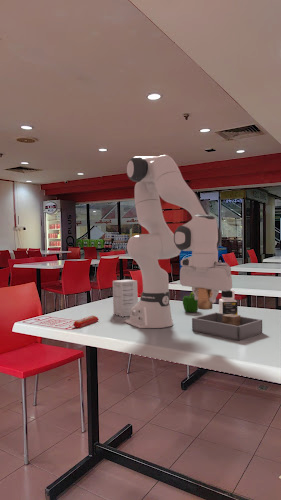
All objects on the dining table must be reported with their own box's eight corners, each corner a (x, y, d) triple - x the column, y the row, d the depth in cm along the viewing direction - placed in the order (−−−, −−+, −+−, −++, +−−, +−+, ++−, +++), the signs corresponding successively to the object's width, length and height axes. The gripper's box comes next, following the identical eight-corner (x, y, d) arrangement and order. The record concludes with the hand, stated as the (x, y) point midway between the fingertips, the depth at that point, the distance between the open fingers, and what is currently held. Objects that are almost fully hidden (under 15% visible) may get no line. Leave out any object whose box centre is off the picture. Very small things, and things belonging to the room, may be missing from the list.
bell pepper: (182, 310, 191) (182, 290, 191) (198, 310, 190) (198, 290, 190) (183, 313, 183) (182, 293, 182) (199, 313, 182) (199, 293, 182)
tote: (192, 330, 148) (192, 318, 147) (216, 324, 158) (216, 312, 158) (239, 340, 131) (238, 326, 131) (262, 332, 142) (262, 319, 142)
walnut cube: (222, 328, 147) (222, 315, 147) (230, 325, 151) (229, 313, 151) (233, 330, 144) (233, 317, 144) (240, 327, 147) (240, 315, 147)
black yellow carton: (222, 316, 173) (222, 291, 173) (218, 313, 180) (218, 289, 180) (237, 316, 174) (237, 290, 173) (233, 313, 181) (233, 288, 180)
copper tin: (194, 308, 128) (194, 288, 128) (203, 306, 131) (203, 286, 131) (206, 310, 124) (206, 289, 124) (215, 308, 128) (215, 287, 127)
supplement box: (138, 314, 181) (138, 280, 181) (122, 317, 176) (121, 282, 176) (128, 311, 189) (128, 279, 189) (112, 314, 184) (112, 280, 184)
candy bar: (78, 329, 155) (78, 322, 155) (71, 328, 157) (71, 321, 157) (100, 321, 169) (100, 315, 169) (93, 320, 171) (93, 314, 171)
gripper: (236, 262, 122) (236, 304, 122) (188, 259, 137) (188, 296, 137) (224, 263, 117) (224, 306, 118) (177, 260, 133) (177, 298, 133)
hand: (205, 301), depth 128 cm, fingers closed on copper tin, 5 cm apart
